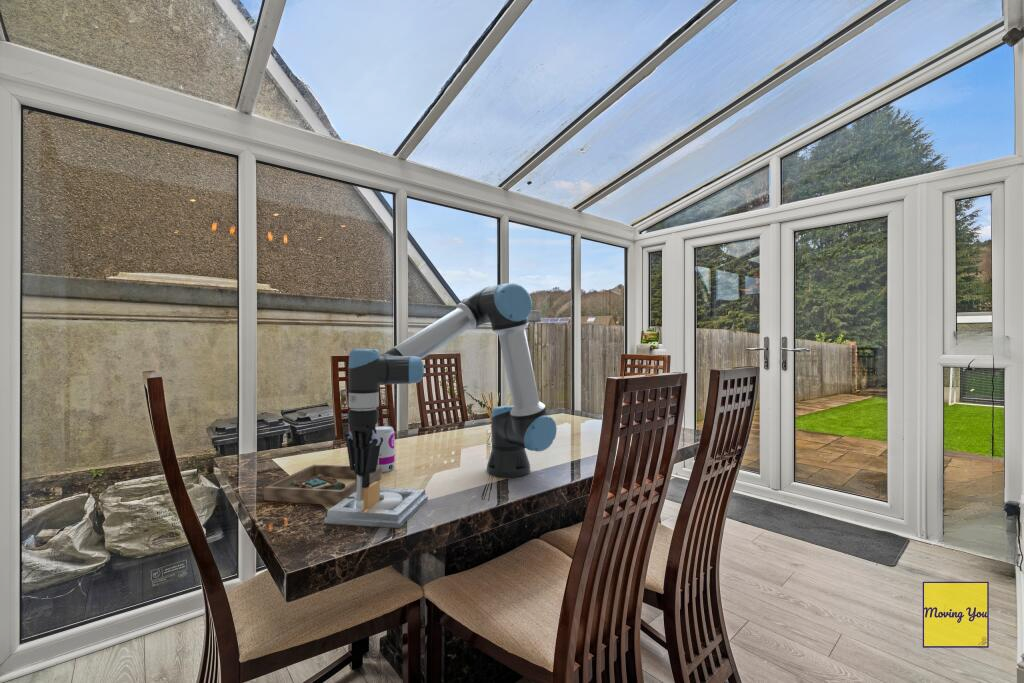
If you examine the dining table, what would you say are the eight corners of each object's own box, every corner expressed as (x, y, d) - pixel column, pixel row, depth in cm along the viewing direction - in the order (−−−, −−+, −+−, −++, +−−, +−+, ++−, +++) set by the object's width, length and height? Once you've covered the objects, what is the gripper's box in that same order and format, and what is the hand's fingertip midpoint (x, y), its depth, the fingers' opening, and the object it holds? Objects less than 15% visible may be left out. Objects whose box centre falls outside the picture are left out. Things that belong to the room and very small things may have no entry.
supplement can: (398, 467, 167) (397, 425, 166) (389, 474, 158) (389, 430, 158) (376, 466, 167) (375, 425, 167) (366, 473, 159) (366, 430, 159)
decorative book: (317, 483, 151) (317, 467, 151) (346, 494, 139) (346, 477, 139) (275, 494, 140) (274, 477, 140) (303, 507, 129) (303, 489, 129)
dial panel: (427, 499, 133) (427, 488, 133) (399, 528, 113) (399, 514, 113) (362, 496, 136) (362, 485, 136) (324, 523, 116) (324, 510, 116)
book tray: (381, 479, 152) (381, 467, 152) (342, 506, 128) (342, 491, 128) (314, 476, 157) (314, 464, 157) (264, 501, 133) (263, 487, 132)
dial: (370, 496, 132) (370, 472, 132) (409, 499, 129) (409, 475, 129) (345, 512, 119) (344, 487, 119) (387, 516, 117) (387, 490, 117)
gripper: (335, 407, 120) (334, 498, 120) (367, 412, 113) (366, 509, 113) (359, 404, 126) (358, 490, 127) (391, 409, 119) (390, 500, 119)
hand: (362, 499), depth 120 cm, fingers closed
